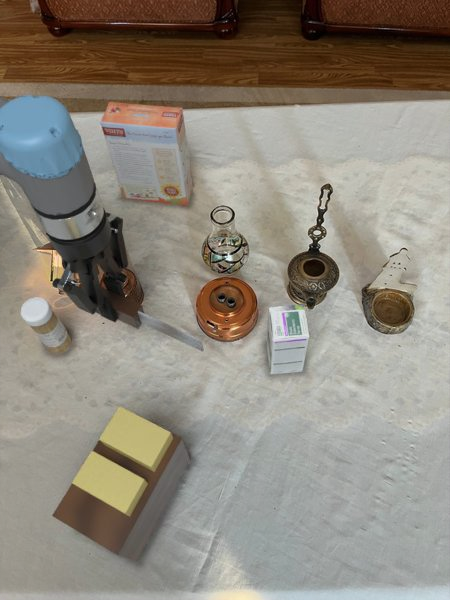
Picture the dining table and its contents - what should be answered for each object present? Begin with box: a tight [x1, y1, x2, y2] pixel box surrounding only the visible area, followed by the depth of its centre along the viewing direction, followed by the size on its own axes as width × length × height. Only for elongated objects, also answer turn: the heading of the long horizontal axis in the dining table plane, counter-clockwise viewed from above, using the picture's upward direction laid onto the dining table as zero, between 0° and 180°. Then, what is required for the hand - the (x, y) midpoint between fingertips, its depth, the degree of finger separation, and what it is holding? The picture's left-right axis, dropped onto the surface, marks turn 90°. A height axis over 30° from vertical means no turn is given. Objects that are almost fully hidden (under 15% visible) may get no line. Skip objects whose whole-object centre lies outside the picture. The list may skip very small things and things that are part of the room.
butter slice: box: [71, 450, 148, 517], centre depth 67 cm, size 8×4×3 cm, turn 63°
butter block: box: [98, 405, 173, 472], centre depth 69 cm, size 8×5×3 cm, turn 63°
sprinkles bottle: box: [20, 296, 73, 355], centre depth 88 cm, size 5×5×14 cm
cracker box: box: [100, 101, 194, 206], centre depth 102 cm, size 14×6×21 cm, turn 80°
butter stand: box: [51, 432, 192, 562], centre depth 75 cm, size 10×16×14 cm, turn 153°
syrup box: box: [266, 303, 310, 375], centre depth 85 cm, size 6×6×14 cm
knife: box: [81, 286, 204, 353], centre depth 81 cm, size 21×2×4 cm, turn 63°
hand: (114, 309), depth 84 cm, fingers closed on knife, 2 cm apart
